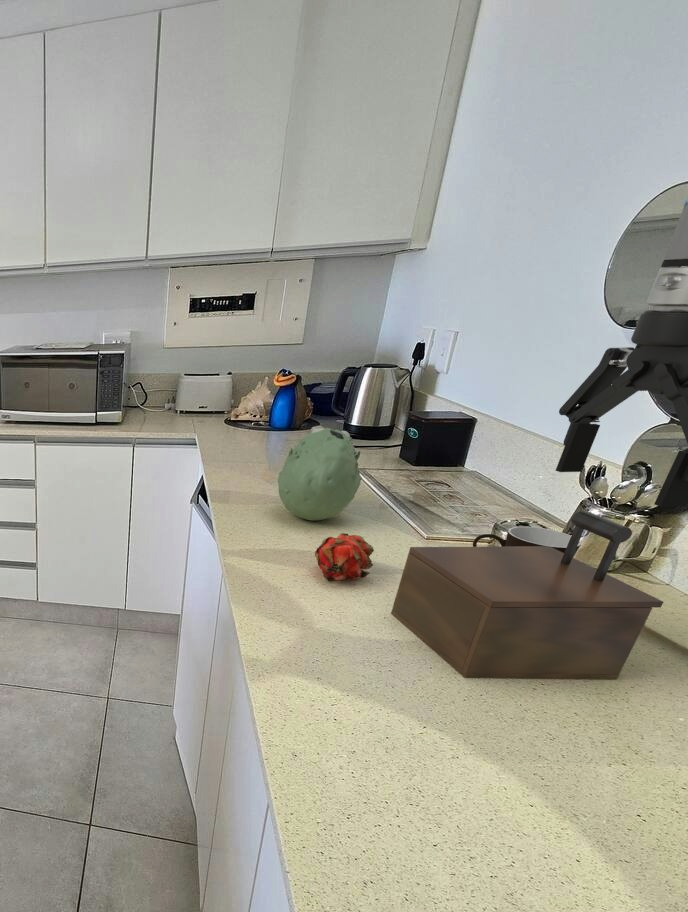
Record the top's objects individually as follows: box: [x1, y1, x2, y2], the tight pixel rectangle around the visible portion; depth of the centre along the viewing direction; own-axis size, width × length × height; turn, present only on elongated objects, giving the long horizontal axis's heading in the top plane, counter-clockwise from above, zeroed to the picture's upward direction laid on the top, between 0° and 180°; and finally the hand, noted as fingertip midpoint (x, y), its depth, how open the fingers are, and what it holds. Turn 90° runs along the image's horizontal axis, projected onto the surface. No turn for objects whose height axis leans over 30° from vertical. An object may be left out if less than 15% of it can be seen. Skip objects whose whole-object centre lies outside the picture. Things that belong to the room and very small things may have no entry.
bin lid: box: [408, 510, 664, 609], centre depth 77 cm, size 20×17×8 cm
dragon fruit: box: [314, 532, 375, 582], centre depth 102 cm, size 8×8×12 cm
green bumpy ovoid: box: [277, 425, 363, 521], centre depth 125 cm, size 16×19×20 cm
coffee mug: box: [472, 526, 582, 558], centre depth 96 cm, size 12×9×10 cm
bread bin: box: [390, 551, 653, 680], centre depth 81 cm, size 19×17×11 cm
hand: (614, 487), depth 73 cm, fingers open, 13 cm apart
